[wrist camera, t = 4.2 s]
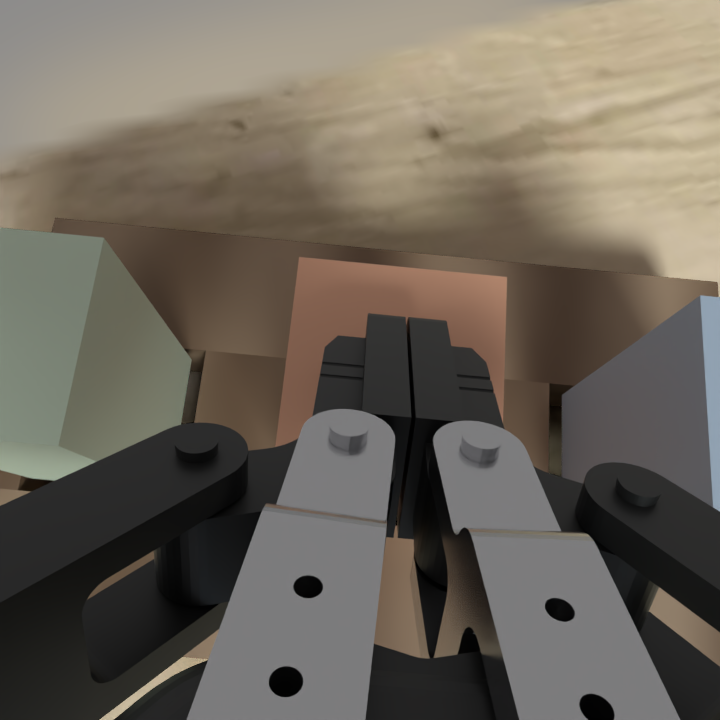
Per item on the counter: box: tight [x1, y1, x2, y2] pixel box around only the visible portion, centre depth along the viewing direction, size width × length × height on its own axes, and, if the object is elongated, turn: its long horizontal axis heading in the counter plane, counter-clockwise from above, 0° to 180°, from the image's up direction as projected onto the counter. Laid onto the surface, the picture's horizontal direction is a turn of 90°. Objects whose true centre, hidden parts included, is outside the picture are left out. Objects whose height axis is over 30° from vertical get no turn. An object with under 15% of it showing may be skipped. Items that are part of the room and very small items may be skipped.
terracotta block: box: [275, 257, 507, 447], centre depth 18 cm, size 4×4×9 cm
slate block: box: [562, 295, 720, 511], centre depth 18 cm, size 4×4×9 cm
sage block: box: [0, 228, 192, 481], centre depth 18 cm, size 4×4×9 cm
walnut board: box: [0, 218, 720, 666], centre depth 24 cm, size 24×14×3 cm, turn 85°
